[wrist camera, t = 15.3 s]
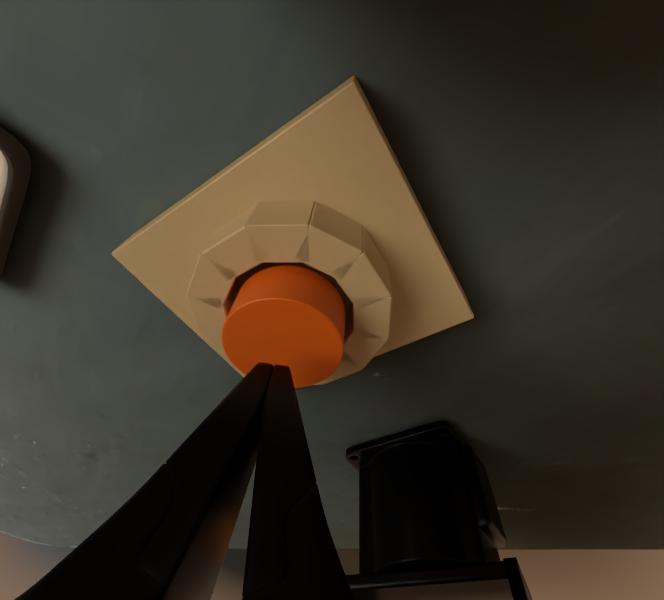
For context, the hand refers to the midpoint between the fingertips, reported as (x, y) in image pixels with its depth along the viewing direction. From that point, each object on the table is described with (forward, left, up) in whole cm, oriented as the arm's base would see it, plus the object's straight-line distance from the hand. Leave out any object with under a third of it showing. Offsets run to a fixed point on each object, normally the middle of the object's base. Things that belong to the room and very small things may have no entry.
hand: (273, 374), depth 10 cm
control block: (0, 0, -6) cm, 6 cm away
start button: (0, 0, -3) cm, 3 cm away
